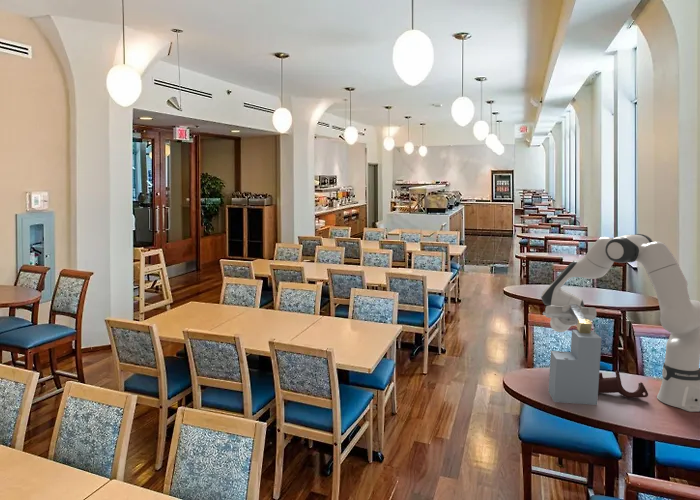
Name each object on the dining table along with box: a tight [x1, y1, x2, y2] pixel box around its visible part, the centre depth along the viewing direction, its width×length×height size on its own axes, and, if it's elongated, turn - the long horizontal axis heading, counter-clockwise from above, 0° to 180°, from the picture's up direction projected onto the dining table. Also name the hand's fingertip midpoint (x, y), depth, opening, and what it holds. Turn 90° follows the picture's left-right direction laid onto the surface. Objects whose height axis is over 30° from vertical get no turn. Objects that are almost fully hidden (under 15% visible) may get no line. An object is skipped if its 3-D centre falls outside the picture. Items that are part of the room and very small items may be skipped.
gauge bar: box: [569, 304, 593, 333], centre depth 206 cm, size 4×20×4 cm, turn 170°
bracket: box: [598, 369, 649, 399], centre depth 202 cm, size 6×18×11 cm, turn 70°
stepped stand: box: [548, 329, 602, 406], centre depth 198 cm, size 16×10×26 cm, turn 80°
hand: (574, 307), depth 213 cm, fingers closed on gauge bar, 3 cm apart
